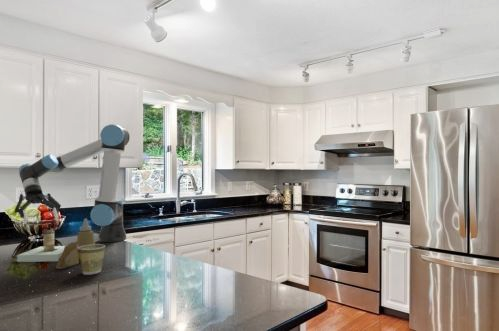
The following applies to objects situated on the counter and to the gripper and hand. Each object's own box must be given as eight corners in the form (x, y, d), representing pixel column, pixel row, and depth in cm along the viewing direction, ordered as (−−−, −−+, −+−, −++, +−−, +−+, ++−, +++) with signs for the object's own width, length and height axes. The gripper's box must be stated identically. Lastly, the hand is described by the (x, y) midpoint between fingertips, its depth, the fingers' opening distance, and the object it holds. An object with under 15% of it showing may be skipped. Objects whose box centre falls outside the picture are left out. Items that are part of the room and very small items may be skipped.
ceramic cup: (95, 276, 136) (94, 249, 136) (71, 275, 138) (71, 249, 138) (114, 267, 149) (114, 242, 149) (93, 266, 151) (92, 242, 151)
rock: (58, 265, 144) (84, 257, 151) (51, 247, 147) (77, 240, 154) (54, 277, 151) (79, 269, 157) (48, 259, 154) (73, 251, 161)
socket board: (77, 252, 178) (77, 245, 178) (58, 261, 160) (58, 254, 160) (40, 252, 178) (40, 246, 178) (17, 261, 160) (17, 255, 160)
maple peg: (56, 255, 172) (56, 230, 172) (51, 257, 167) (51, 231, 167) (47, 255, 171) (46, 230, 172) (41, 257, 167) (41, 231, 167)
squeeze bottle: (98, 256, 169) (98, 217, 169) (89, 260, 161) (89, 219, 161) (82, 256, 170) (82, 217, 170) (72, 260, 162) (71, 219, 162)
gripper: (56, 192, 198) (67, 222, 187) (2, 195, 180) (10, 228, 169) (60, 182, 194) (71, 212, 183) (5, 184, 176) (13, 218, 165)
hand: (42, 220), depth 176 cm, fingers open, 13 cm apart
